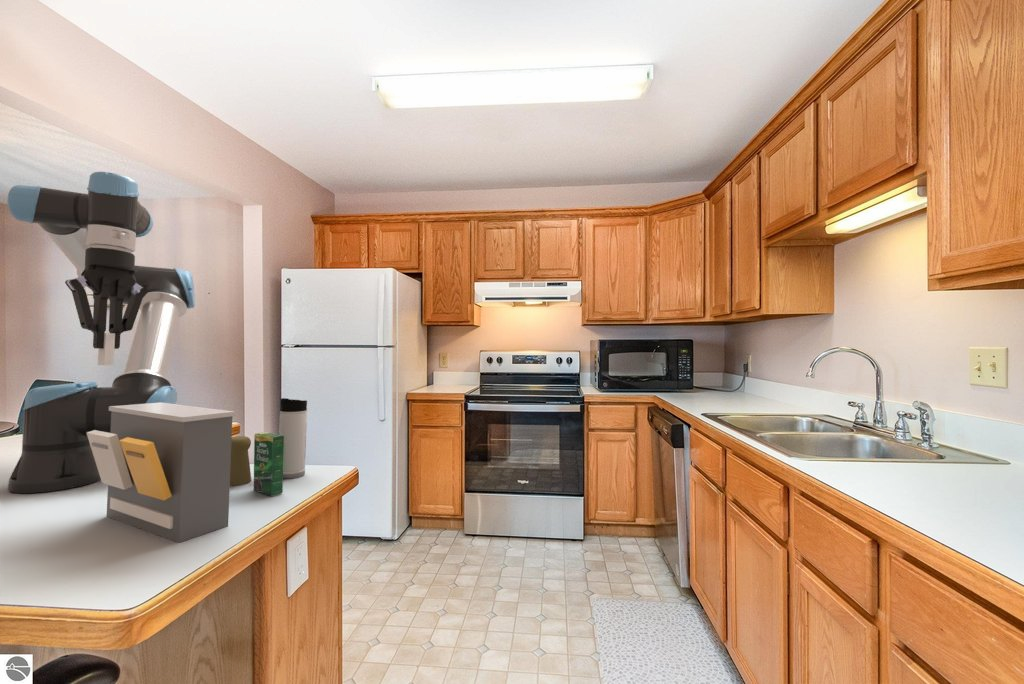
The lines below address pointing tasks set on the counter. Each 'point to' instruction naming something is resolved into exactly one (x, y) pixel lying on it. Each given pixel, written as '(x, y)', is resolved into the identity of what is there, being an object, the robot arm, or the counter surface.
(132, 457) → the rocker amber
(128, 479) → the rocker ivory
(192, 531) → the switch panel
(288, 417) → the travel mug
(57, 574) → the counter surface
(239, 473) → the cork
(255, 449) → the coffee box
